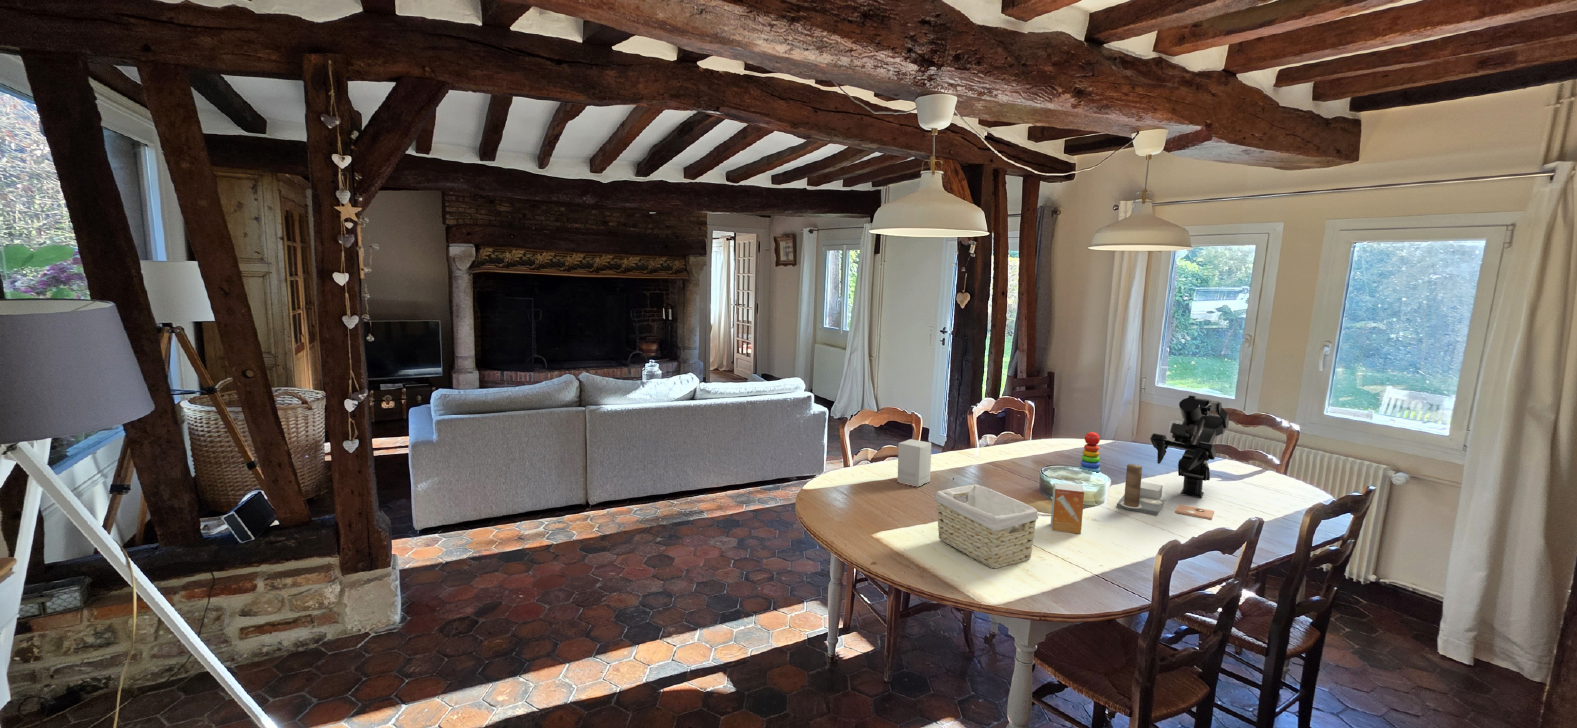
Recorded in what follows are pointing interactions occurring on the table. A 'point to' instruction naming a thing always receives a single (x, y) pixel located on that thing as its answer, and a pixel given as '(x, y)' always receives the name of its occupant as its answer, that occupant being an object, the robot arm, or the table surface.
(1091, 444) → the stacking toy
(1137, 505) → the walnut pin
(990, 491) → the storage basket
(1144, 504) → the slate board
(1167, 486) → the table surface
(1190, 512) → the tile
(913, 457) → the supplement box
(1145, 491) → the cover
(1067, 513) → the small box
